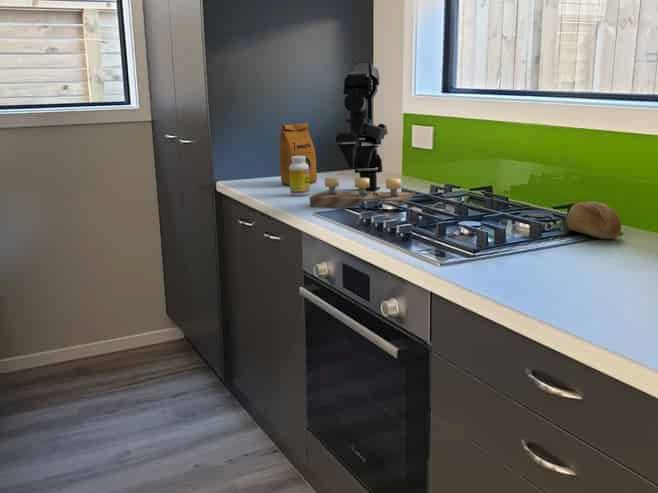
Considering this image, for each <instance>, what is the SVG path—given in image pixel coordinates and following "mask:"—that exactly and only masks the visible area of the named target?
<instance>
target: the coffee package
mask: <svg viewBox="0 0 658 493" xmlns="http://www.w3.org/2000/svg"><path fill="white" fill-rule="evenodd" d="M308 128H309V122H304V123H297V124H283V125H281V128H280V136H279V144H278V149H279V167H280V168H279V170H280V179H281V182H280V183H281V184H282V185H287V186H290V176H289V166H290V165H291V164H292V160H291V157H293V156H305V159H306V160H305V163H306V164H307V165H308V166H309V181H310V184H315V183H317V180H318V174H317V158H316V157H317V156H316V152H315V151H316V150H315V147H314V144H313V141H312V138H311V136H310V132H309V129H308Z"/></svg>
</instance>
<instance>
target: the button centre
mask: <svg viewBox="0 0 658 493" xmlns="http://www.w3.org/2000/svg"><path fill="white" fill-rule="evenodd" d="M368 187H370V186H369V178H360V177H357V178H354V188H355V189H359V194H360V195H363V196H366V188H368Z"/></svg>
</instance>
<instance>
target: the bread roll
mask: <svg viewBox="0 0 658 493" xmlns="http://www.w3.org/2000/svg"><path fill="white" fill-rule="evenodd" d="M565 223H566V225H567V227H568V228H569V229H570V230H571V231H573V232H577V233H581V234H584V235H588V236H591V237H593V238H594V237H595V238H599V239H603V240H611V239H615V238H618V236H619V235H620V234H621V231H622V222H621V219H620V217H619V215H618V213H617V212H616V210H615V209H613V208H612V207H611V206H609V205H608V204H606V203H603V202H599V201H595V200H594V201H580V202H578V203H575V204H573V205H571V207H570V209H569V211H568V214H567V217H566V220H565Z"/></svg>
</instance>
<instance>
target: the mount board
mask: <svg viewBox="0 0 658 493" xmlns="http://www.w3.org/2000/svg"><path fill="white" fill-rule="evenodd" d="M335 191H336V195H329V189H325V190H323V191H320V192H318V193H316V194H313V195H311V196H309V207H312V208H313V207H314V208H315V207H316V208H333V209H334V208H335V209H346V208H345V207H346V206H354V205H357V204H358V202H360V201H364V202H365V201H367V200H377V201H392V202H398V203H405V202H406V201H408V200H410V199H411V198H412V197H413V196H414V195H417V194H416V192H405V191H404V192H398V191H397V197H391V196H390V191H366V196H364V197H362V198H361V197H359V196H358V194H359V191H357V190H337V189H335ZM374 192H375V193H377V194H378V195H377V196H374V195H373V193H374Z"/></svg>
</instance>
